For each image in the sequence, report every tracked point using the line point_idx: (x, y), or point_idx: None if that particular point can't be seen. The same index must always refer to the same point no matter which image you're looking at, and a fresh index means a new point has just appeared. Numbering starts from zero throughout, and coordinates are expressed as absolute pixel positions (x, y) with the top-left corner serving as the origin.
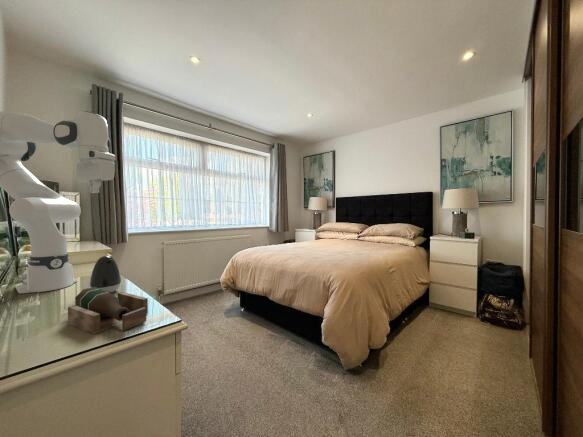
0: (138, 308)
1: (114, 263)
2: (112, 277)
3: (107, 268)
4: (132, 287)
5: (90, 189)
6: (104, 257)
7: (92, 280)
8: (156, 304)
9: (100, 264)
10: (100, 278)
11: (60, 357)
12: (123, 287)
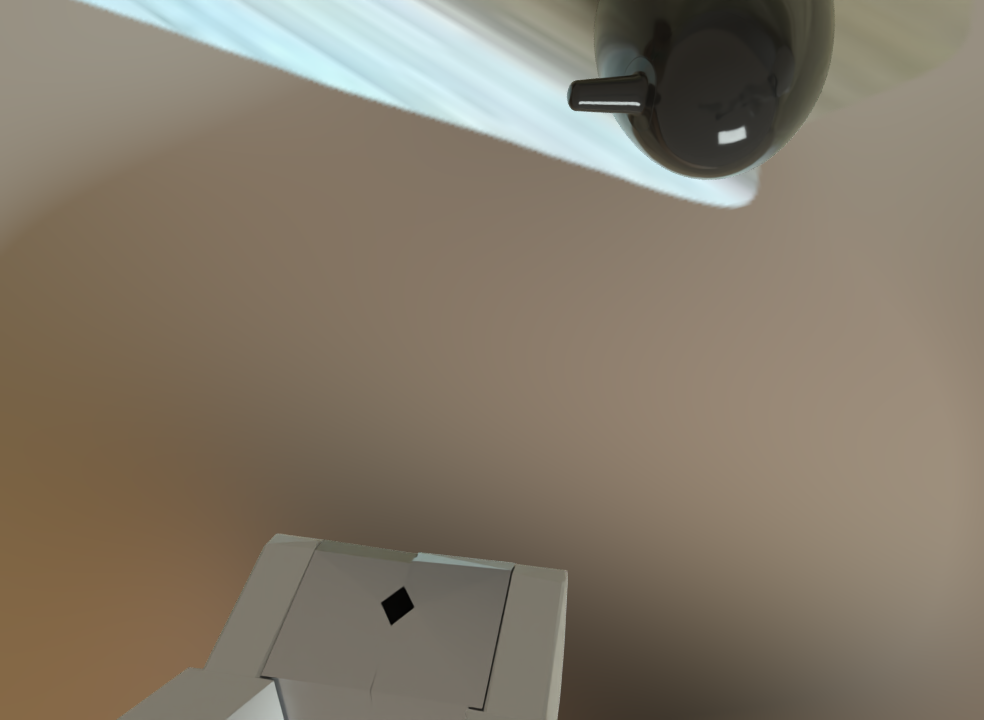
0: None
1: (632, 136)
2: (596, 46)
3: (617, 47)
4: (638, 172)
5: (499, 654)
6: (686, 96)
7: None
8: (128, 13)
9: (669, 21)
10: None
11: None
12: None
